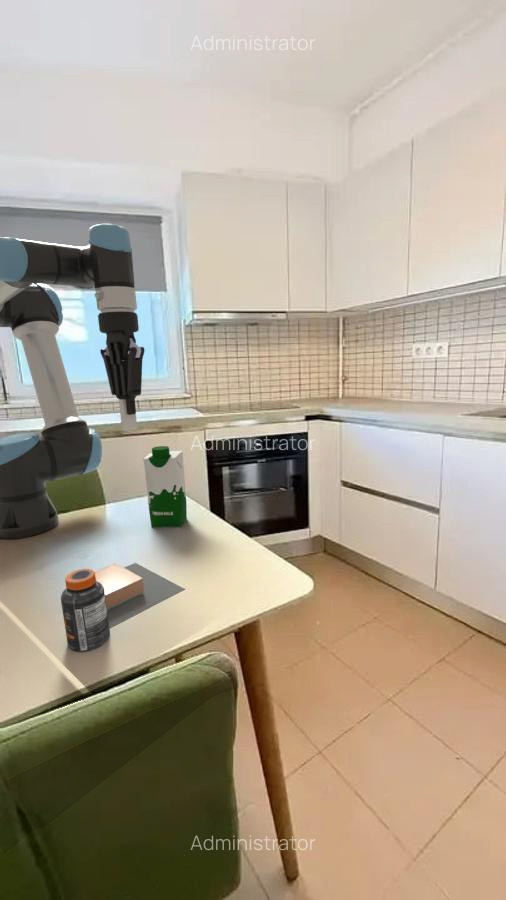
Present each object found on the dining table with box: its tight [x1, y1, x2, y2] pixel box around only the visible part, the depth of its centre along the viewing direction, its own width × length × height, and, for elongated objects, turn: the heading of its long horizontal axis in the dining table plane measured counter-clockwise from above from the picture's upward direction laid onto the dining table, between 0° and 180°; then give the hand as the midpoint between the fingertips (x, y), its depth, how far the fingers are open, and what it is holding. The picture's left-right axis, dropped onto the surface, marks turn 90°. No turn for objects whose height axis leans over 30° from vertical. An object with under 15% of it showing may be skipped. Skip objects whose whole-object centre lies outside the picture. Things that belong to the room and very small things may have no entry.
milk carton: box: [142, 445, 188, 529], centre depth 109 cm, size 9×9×20 cm
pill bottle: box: [60, 568, 111, 653], centre depth 65 cm, size 6×6×11 cm
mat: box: [107, 562, 186, 630], centre depth 79 cm, size 16×15×1 cm
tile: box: [94, 562, 144, 611], centre depth 77 cm, size 9×3×9 cm
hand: (129, 429), depth 93 cm, fingers closed
